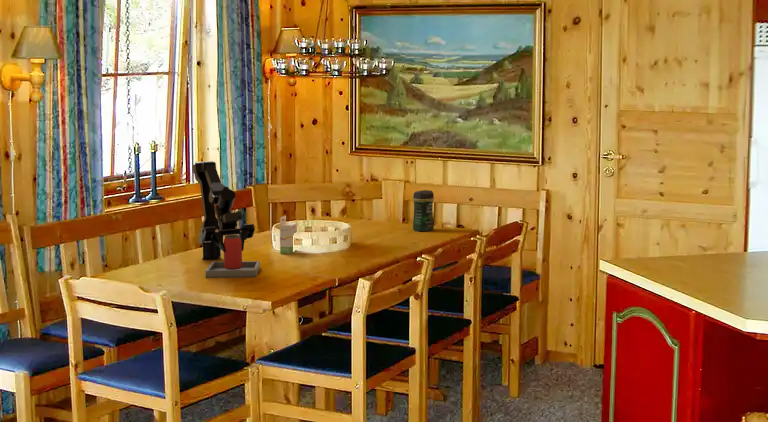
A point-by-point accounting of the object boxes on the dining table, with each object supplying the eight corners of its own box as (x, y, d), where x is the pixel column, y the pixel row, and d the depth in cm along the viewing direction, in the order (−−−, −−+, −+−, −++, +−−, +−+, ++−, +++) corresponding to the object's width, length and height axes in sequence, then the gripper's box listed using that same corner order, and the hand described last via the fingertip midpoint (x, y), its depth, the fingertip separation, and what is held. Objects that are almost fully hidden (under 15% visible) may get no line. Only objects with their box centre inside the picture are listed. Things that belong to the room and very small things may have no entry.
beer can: (222, 269, 382) (221, 237, 380) (226, 266, 388) (225, 234, 386) (240, 270, 381) (239, 237, 379) (244, 266, 388) (243, 234, 386)
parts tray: (205, 277, 376) (205, 271, 375) (212, 268, 393) (211, 261, 393) (255, 277, 376) (255, 270, 376) (260, 267, 394) (259, 261, 394)
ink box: (291, 254, 422) (290, 218, 420) (279, 253, 423) (279, 217, 421) (297, 250, 431) (296, 215, 429) (286, 250, 432) (285, 214, 430)
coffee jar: (423, 232, 474) (423, 191, 471) (410, 230, 479) (410, 190, 477) (436, 229, 481) (436, 189, 479) (423, 228, 486) (423, 188, 484)
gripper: (203, 205, 381) (212, 240, 373) (252, 202, 389) (262, 236, 380) (199, 223, 389) (207, 257, 381) (247, 220, 397) (256, 253, 389)
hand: (233, 251), depth 383 cm, fingers closed on beer can, 6 cm apart
